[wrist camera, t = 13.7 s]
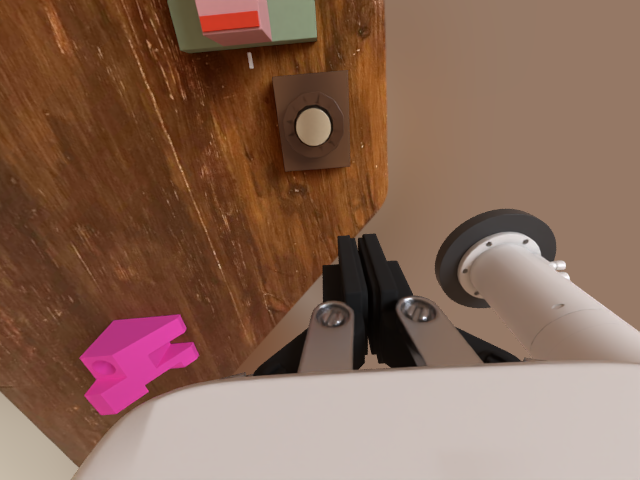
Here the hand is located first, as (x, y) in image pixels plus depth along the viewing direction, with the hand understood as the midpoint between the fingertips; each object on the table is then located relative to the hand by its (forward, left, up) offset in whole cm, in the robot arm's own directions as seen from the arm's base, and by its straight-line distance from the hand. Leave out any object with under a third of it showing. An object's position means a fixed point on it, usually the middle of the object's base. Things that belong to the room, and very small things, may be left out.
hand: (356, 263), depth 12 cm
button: (+2, -4, -22) cm, 22 cm away
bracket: (+34, +30, -25) cm, 52 cm away
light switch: (+2, -4, -25) cm, 25 cm away
